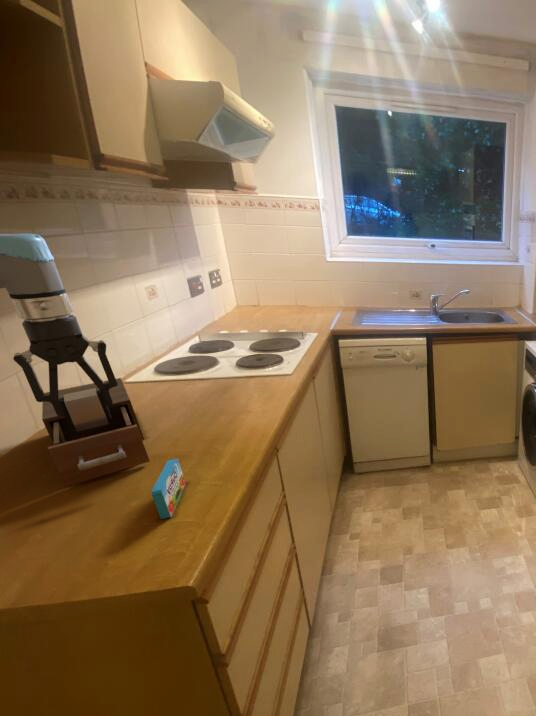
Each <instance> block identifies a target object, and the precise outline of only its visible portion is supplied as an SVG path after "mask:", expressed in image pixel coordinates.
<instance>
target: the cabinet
mask: <svg viewBox="0 0 536 716" xmlns="http://www.w3.org/2000/svg"><path fill="white" fill-rule="evenodd" d="M115 379H116V381H117V384H118V385H117V386H116V387H113V388H111V389H109V393H110V396H111V398H112V401H113V403H112V404H111V405H107V407H108V408H112V407H116V406H121V405H124V407H125V409H126V412H127V414H128V417H129V420H130V422H131V425H137V427H138V430H139V433H140V436H141V438H142V441H143V440H145V436H144V434H143V432H142V428H141V426H140V423H139V420H138V417H137V415H136V412H135V409H134V406H133V404H132V401H131V398H130V395H129V394H128V391H127V390H126V386H125V384H124V382H123V380H122V378H121V377H119V378H115ZM107 381H108V379H107V380H103V382H104V383H106V382H107ZM94 388H96V391H97V390H99V388H98V387H97V386H96V385H95V384H94V382H92V383H87V384H83V385H78V386H77V385H76V386H71V387H66V388H62V389H58V396H59V398H63V397H64V394H69V393H74V392H79V391H84V390H89V389H94ZM44 394H50V391H47V392H44ZM41 405H42V407H41V408H42V411H41V412H42V413H41V420H42V423H43V425H44V427H45V429H46V431H47V433H48V436H49V438H50V441H51V443H52V444H53V445H54V429H53V421H55V420H59V419H63V418H66V416H65V415H63V416H58V415H57V414H56V412H55V410H54V407H53V405H52V403H50V402H42V404H41ZM53 445H52V446H53Z"/></svg>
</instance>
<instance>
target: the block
mask: <svg viewBox="0 0 536 716" xmlns="http://www.w3.org/2000/svg"><path fill="white" fill-rule="evenodd" d="M64 402H65V405H66V407H67V409H68V412H69V414H70V416H71V419H72V421H73V423H74V426H75V428H76V430H77V432H79V431H83V430H87V429H91V428H95V427H100V426H104V425H108V424H109V423H108V421H107V418H106V416H105V413H104V410H103V408H102V405H101V403H100V400H99V398H98V395H97V392H96V388H94V389H89V390H84V391H79V392H74V393H69V394H64Z"/></svg>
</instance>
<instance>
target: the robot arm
mask: <svg viewBox="0 0 536 716" xmlns="http://www.w3.org/2000/svg"><path fill="white" fill-rule="evenodd" d="M0 289H6V292H7V293H8V296H9V298H10V300H11V302H12V304H13V308H14V309H15V312H16V313H17V316H18V318H19V319H21V320H23V321H22V323H21V325H22V327H23V329H24V332H25V335H26V337H27V340H28V341H29V348H28V349H27V350H25V351H22V352H15V353H14V355H13V358H12V359H13V361H14V362H15V363H16V364H18V366H20V367H21V369H22V371H23V373H24V376H25V378H26V381H27V383H28V385H29V387H30V390H31V392H32V394H33V396H34V399H35V401H36V402H37V403H43V402H50V403H52V405H53V407H54V410H55V412H56V414H57V415H58V416H63V415H65V416H66V418H67V421H68V423H69V425H70V428H71V430H75V429H76V428H75V426H74V423H73V421H72V419H71V416H70V414H69V412H68V409H67V407H66V405H65V402H64V397H63V398H59V396H58V390H59V371H58V366H60V365H63V364H67V363H76V364H77V365H78V366H79V367H80V368H81V369H82V371H83V372H84V373H85V374H86V375H87V377H88V378H89V380H91V382H92V383H94V384H95V385H96V386H97V387H98V388H99V390H97V391H96V392H97V395H98V398H99V400H100V403H101V405H102V408H103V410H104V413H105V416H106V418H107V421H112V418H111V415H110V412H109V410H108V407H107V405H111V404H112V403H113V401H112V398H111V396H110V393H109V389H111V388H113V387H116V386H117V385H118V384H117V381H116V379H117V378H116V376H115V374H114V371H113V369H112V366H111V364H110V361H109V358H108V356H107V344H106V341H105V340H102V339H101V340H89V339H88V338H87V337H86V336H84V334H83V332H82V329H81V327H80V324H79V321H78V319H77V317H76V316H75V315H73V313H74V308H73V306H72V304H71V301H70V299H69V296H68V293H67V291H66V289H65V287H64V285H63V281H62V278H61V276H60V273H59V271H58V267H57V265H56V262H55V257H54V256H53V254H52V253H51V250H50V248H49V246H48V244H47V241H46V240H45V239H44V237H43V236H41V235H39V234H36V233H0ZM88 347H90V348H91V349H92V351H93V352H96V353H97V356H98V359H99V360H100V363H101V366H102V368H103V371H104V374H105V376H106V378H107V380H108V381H107V380H106V381H107V382H106V383H104V382H103V381H104V380H103V379H102V378H101V376H99V375H98V373H97V372H96V370H95V369H94V368H93V367H92V366H91V365H90V362H88V361H87V359H86V358H85V357H84V355H85V353H86V351H87V349H88ZM33 356H36V357H37V358H39V359H41V360H43V361H44V362H47V363H48V383H49V384H48V385H49V392H50V394H44V393H45V392H44V389H43V388H42V387H43V386H42V385H41V383H40V380H39V378H38V376H37V373H36V371H35V369H34V366H33V364H32V362H33V359H34V358H33Z"/></svg>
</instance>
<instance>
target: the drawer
mask: <svg viewBox="0 0 536 716" xmlns="http://www.w3.org/2000/svg"><path fill="white" fill-rule="evenodd" d="M108 410H109V412H110V415H111V418H112V421H108V423H109V424H108V425H104V426H100V427H95V428H91V429H87V430H83V431H79V432H77V430H76V429H75V430H71V428H70V425H69V423H68V421H67V418H63V419H59V420H55V421H53V429H54V445H50V446H47V451H48V452H49V455H50V456H51V459H52V461H53V463H54V465H55V468H56V469H57V471H58V474H59V476H60V479H61V480H62V482H63V485H64V487H66V488H67V487H70V486H74V485H77V484H81V483H84V482H87V481H90V480H93V479H97V478H99V477H103V476H107V475H110V474H113V473H116V472H120V471H123V470H127V469H131V468H133V467H137V466H140V465H144V464H146V463H150V461H151V460H150V457H149V454H148V452H147V449H146V446H145V444H144V441H143V440H142V438H141V436H140V433H139V430H138V427H137V425H131V422H130V420H129V417H128V414H127V412H126V409H125V407H124V405H121V406H116V407H112V408H108Z"/></svg>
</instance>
